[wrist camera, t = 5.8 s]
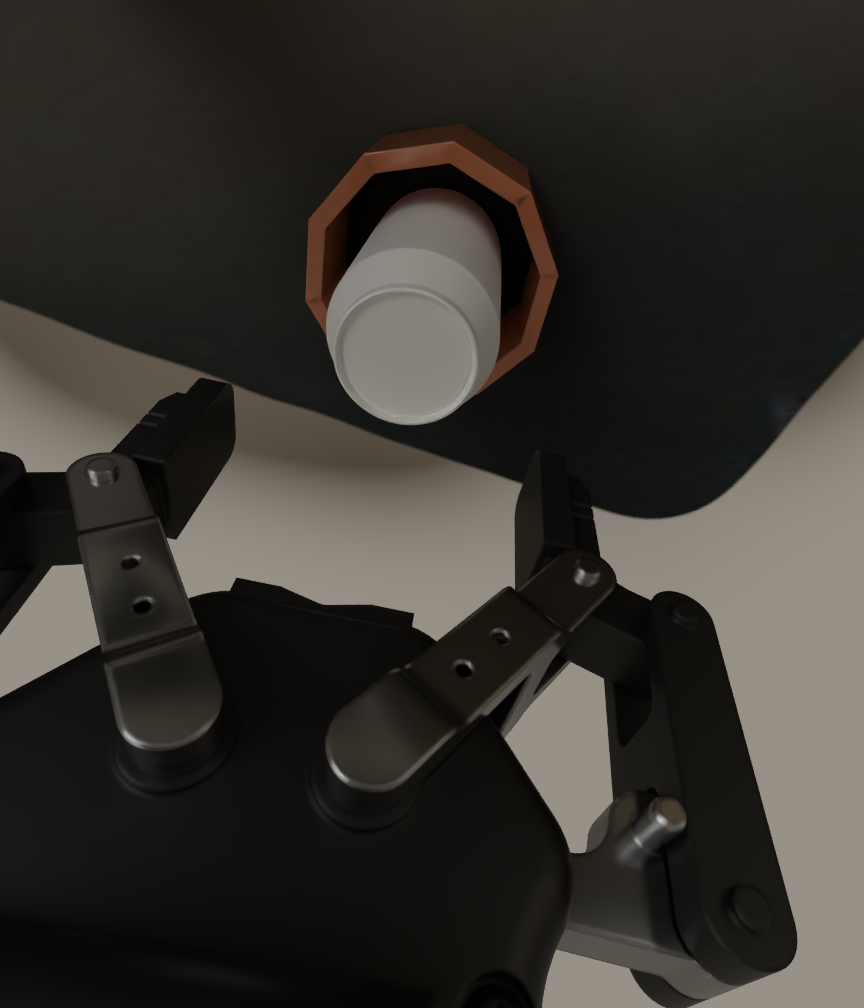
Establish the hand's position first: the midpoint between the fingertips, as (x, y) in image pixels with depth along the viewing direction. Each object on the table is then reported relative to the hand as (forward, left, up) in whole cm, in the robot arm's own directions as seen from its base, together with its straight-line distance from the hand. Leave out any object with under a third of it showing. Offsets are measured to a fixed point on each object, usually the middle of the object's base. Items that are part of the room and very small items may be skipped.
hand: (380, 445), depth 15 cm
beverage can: (0, 0, -17) cm, 17 cm away
